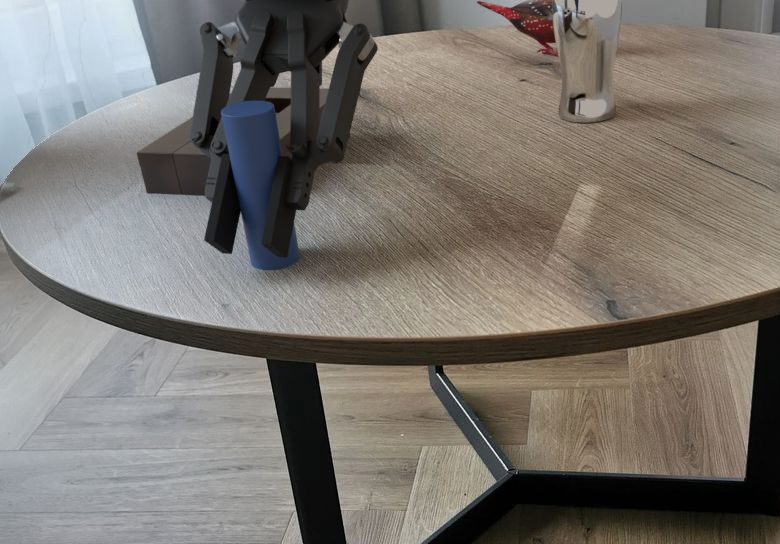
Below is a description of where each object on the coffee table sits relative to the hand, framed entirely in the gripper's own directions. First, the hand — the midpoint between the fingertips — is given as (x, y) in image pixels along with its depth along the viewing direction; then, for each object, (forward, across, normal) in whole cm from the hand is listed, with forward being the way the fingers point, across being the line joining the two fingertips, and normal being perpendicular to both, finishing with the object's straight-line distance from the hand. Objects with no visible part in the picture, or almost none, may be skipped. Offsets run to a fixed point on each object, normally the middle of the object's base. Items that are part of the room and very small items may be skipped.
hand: (246, 248), depth 67 cm
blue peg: (0, 0, -5) cm, 5 cm away
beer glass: (-28, -17, -34) cm, 47 cm away
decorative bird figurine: (-45, -7, -51) cm, 68 cm away
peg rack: (-15, +12, -20) cm, 28 cm away
